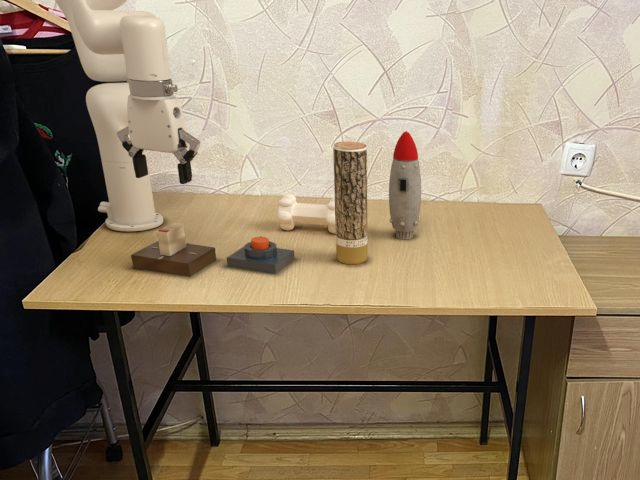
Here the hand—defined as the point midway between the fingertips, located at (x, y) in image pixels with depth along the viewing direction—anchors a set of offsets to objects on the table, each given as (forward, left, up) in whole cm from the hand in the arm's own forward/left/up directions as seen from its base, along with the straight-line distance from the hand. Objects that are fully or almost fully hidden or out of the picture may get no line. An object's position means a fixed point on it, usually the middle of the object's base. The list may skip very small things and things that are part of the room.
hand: (164, 179), depth 142 cm
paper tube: (+33, +16, -18) cm, 41 cm away
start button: (+16, +7, -14) cm, 23 cm away
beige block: (0, 0, -15) cm, 15 cm away
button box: (+16, +7, -18) cm, 25 cm away
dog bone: (+17, +31, -18) cm, 40 cm away
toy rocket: (+39, +35, -18) cm, 55 cm away
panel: (0, 0, -18) cm, 18 cm away
